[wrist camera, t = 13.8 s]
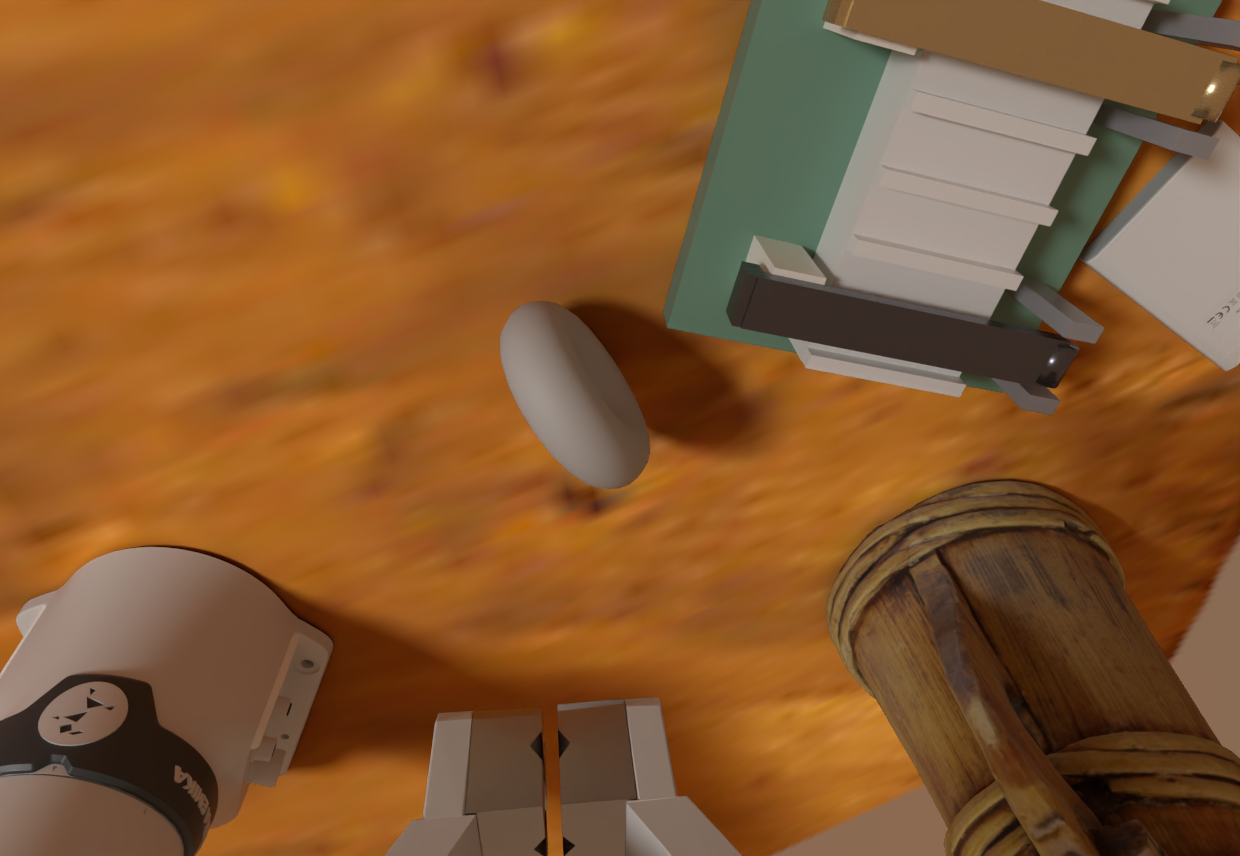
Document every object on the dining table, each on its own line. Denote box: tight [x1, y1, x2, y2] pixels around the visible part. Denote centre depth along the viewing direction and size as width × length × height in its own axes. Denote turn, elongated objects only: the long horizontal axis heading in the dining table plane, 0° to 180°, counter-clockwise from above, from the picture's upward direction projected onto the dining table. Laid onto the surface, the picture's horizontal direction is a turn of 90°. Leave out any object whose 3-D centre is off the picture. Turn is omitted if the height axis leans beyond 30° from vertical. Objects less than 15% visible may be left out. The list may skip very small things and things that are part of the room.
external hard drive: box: [1078, 120, 1240, 371], centre depth 41 cm, size 2×8×12 cm
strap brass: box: [822, 0, 1240, 124], centre depth 29 cm, size 2×16×2 cm, turn 77°
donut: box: [500, 301, 650, 489], centre depth 38 cm, size 10×4×10 cm, turn 34°
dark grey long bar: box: [726, 261, 1080, 388], centre depth 35 cm, size 2×16×2 cm, turn 77°
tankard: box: [827, 480, 1240, 856], centre depth 42 cm, size 18×24×25 cm
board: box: [663, 0, 1240, 415], centre depth 34 cm, size 20×19×8 cm
